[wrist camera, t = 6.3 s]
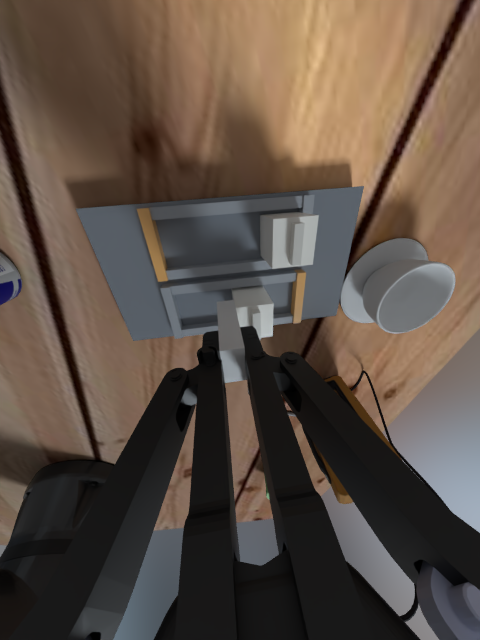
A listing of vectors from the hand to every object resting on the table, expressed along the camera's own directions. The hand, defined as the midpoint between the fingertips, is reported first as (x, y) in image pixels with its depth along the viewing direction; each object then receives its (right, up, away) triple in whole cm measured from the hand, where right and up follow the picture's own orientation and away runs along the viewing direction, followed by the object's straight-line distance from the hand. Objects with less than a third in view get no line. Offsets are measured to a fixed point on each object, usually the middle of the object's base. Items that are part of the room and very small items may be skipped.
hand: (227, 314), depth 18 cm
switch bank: (0, +5, +2) cm, 5 cm away
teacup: (+17, +4, +5) cm, 18 cm away
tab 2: (+4, +7, -1) cm, 8 cm away
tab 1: (+2, +1, +2) cm, 3 cm away
